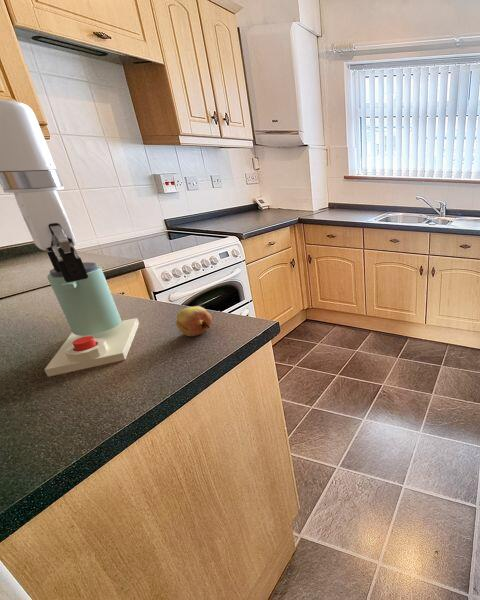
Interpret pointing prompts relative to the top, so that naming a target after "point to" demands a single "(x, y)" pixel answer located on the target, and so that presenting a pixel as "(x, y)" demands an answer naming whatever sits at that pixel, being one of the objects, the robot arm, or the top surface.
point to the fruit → (193, 320)
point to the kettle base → (94, 349)
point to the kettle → (86, 301)
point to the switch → (84, 343)
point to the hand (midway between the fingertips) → (71, 274)
